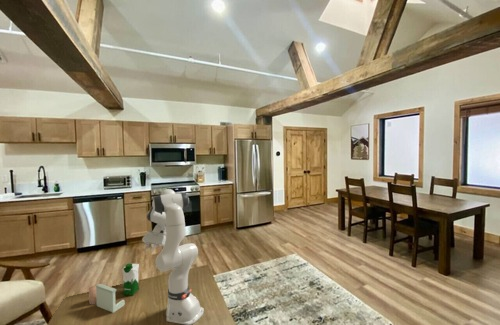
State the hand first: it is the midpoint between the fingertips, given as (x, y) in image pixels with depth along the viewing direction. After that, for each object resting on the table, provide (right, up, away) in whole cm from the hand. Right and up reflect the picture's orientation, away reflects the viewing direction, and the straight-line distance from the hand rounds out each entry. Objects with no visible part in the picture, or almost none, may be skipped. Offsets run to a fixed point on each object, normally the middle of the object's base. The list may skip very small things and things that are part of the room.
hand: (148, 249), depth 167 cm
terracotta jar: (-24, -24, -23) cm, 41 cm away
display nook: (-12, -25, -27) cm, 38 cm away
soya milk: (-6, -24, -13) cm, 28 cm away
